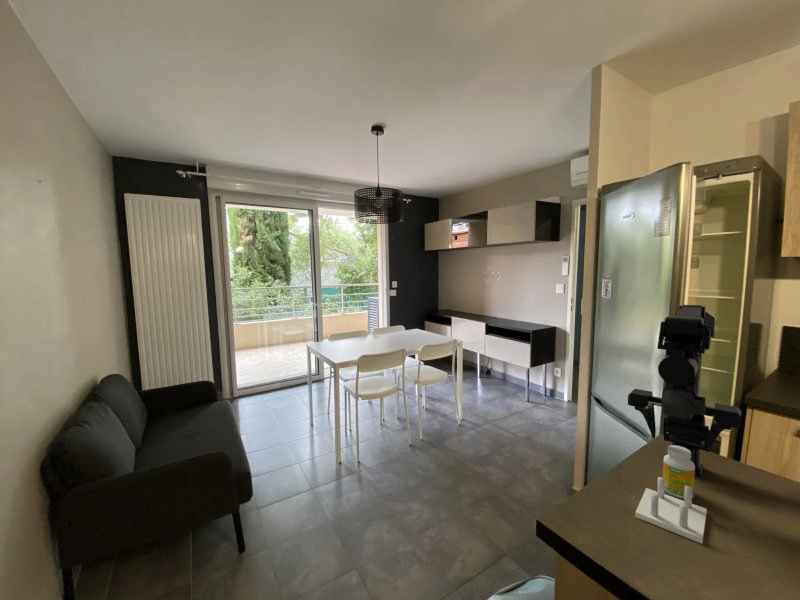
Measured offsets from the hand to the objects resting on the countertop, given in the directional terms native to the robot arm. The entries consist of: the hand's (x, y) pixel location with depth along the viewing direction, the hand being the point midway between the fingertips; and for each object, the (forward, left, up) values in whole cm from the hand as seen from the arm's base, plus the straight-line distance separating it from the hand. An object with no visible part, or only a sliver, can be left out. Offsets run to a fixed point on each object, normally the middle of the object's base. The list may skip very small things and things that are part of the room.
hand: (679, 444), depth 75 cm
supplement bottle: (0, 0, -11) cm, 11 cm away
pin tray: (+11, 0, -11) cm, 15 cm away
